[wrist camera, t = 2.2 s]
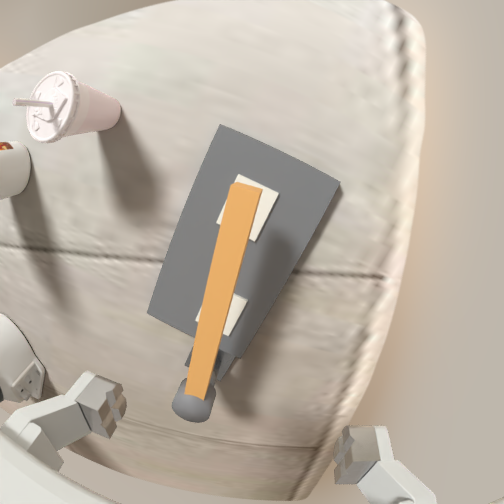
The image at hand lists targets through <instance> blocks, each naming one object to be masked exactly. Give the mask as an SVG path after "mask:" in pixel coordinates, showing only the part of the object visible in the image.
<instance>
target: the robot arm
mask: <svg viewBox="0 0 504 504" xmlns="http://www.w3.org/2000/svg"><path fill="white" fill-rule="evenodd" d="M44 375H45V369H44V367H43V366H42V364H41V363H40V362H39V360H38V359H37V358H36V356H35V355H34V353H33V351H32V349H31V347H30V345H29V344H28V342H27V340H26V339H25V337H24V336H23V334H22V333H21V332H20V330H19V329H18V328H17V327H16V325H15V324H14V323H13V322H12V321H11V320H10V319H9V318H7V317H6V316H5V315H3V314H0V402H2V401H3V400H9V401H14V402H18V403H21V402H22V401H24V400H26V401H27V400H28V399H29V398H30V396H32V397H34V398H36V399H40V398H41V394H42V387H43V381H44ZM122 392H123V387H122V384H120V383H117V382H114V381H112V380H109V379H107V378H104V377H102V376H100V375H97V374H95V373H92V372H90V371H86V372H84V373H83V374H82V375H81V377H80V378H79V379H78V380H77V381H76V382H75V384H74V385H73V386H72V387H71V388H70V390H69V391H68V392H67V393H66V394H65V396H64V395H59V396H56V397H53V398H50V399H47V400H44V401H41V402H38V403H35V404H32V405H29V406H26V407H23V408H20V409H17V410H16V411H15V412H14V413H13V414H12V415H11V416H10V418H9V419H8V420H7V421H6V422H5V423H4V425H3V426H2V427H1V428H0V504H120V503H118V502H115V501H113V500H111V499H109V498H107V497H104V496H102V495H100V494H98V493H96V492H94V491H92V490H90V489H88V488H86V487H84V486H82V485H80V484H79V483H77V482H75V481H73V480H71V479H69V478H68V477H66V476H64V475H63V474H61V473H59V472H58V471H59V469H60V468H61V466H62V465H63V463H64V462H63V459H62V458H61V457H60V455H59V454H58V452H57V451H58V450H60V449H61V448H63V447H65V446H67V445H69V444H71V443H73V442H75V441H77V440H78V439H80V438H82V437H84V436H86V435H88V434H89V433H91V431H92V432H94V433H97V434H99V435H101V436H104V437H106V438H109V439H110V438H111V436H112V434H113V433H114V431H115V429H116V428H117V425H116V421H118V420H121V419H122V418H123V416H124V414H125V411H126V407H127V402H126V398H125V397H124V396H123V394H122ZM342 434H343V436H341V437H339V438H338V440H337V441H336V444H335V447H334V461H335V462H336V463H337V464H338V465H337V467H336V468H335V470H334V474H335V484H357V487H358V488H359V489H360V491H361V492H362V493H363V495H364V496H365V497H366V499H367V500H368V502H369V503H370V504H437V501H436V496H435V494H434V493H433V492H432V491H431V490H430V489H429V488H428V487H427V486H425V485H424V484H423V483H422V482H421V481H420V480H419V479H418V478H417V477H416V476H415V475H414V474H413V473H412V472H410V471H409V470H408V469H407V468H406V467H405V466H404V465H403V464H402V463H401V462H400V461H399V460H395V459H394V455H393V450H392V446H391V442H390V437H389V433H388V429H387V427H386V426H384V425H381V426H371V425H366V426H346V427H344V429H343V431H342ZM489 504H504V497H502V498H500V499H498V500H496V501H494V502H492V503H489Z"/></svg>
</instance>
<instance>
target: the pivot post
mask: <svg viewBox="0 0 504 504" xmlns="http://www.w3.org/2000/svg"><path fill="white" fill-rule="evenodd" d="M192 351H193V348H192V350H191V352H190V354H189V357H188V359H187V361H186V363H185V366H187V367H189V366H190V361H191V356H192ZM235 357H236V356H233V355H231V354H229V353H227V352H224V351H222V350H220V349H219V350H218V353H217V357H216V361H215V364H214V368H213V372H212V376H211V379H210V384H212V386H213V387H214V384H215V381H216V380H218V381H221V379H222V378H223V376H224V375H225V373H226V371H227V370H228V368H229V366H230V365H231V363H232V362H233V360H234V358H235Z"/></svg>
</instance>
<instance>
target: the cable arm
mask: <svg viewBox="0 0 504 504" xmlns="http://www.w3.org/2000/svg"><path fill="white" fill-rule="evenodd" d="M262 190H263V189H261V188H258V187H254V186H251V185H247V184H243V183H240V182H235V183H233V184H231V185H230V189H229V193H228V197H227V201H226V205H225V209H224V213H223V217H222V221H221V225H220V229H219V233H218V237H217V242H216V246H215V250H214V254H213V259H212V263H211V267H210V272H209V276H208V280H207V285H206V289H205V294H204V298H203V303H202V308H201V312H200V317H199V322H198V327H197V331H196V336H195V341H194V346H193V351H192V356H191V361H190V366H189V371H188V377H187V378H185V379H184V380H183V381H182V382H181V384H180V387H179V389H178V391H177V393H176V395H175V398H174V400H173V402H172V409H173V411H174V412H175V413H176V414H177V415H178V416H179V417H181V418H183V419H185V420H187V421H190V422H197V423H199V422H204V421H206V420H208V418H209V416H210V413H211V410H212V406H213V403H214V400H215V397H216V390H215V388H214V387H213V386H212V384H210V379H211V376H212V372H213V368H214V364H215V361H216V357H217V353H218V350H219V346H220V342H221V339H222V335H223V331H224V328H225V324H226V320H227V317H228V313H229V309H230V306H231V302H232V298H233V295H234V291H235V287H236V284H237V280H238V277H239V273H240V269H241V266H242V262H243V258H244V255H245V251H246V248H247V244H248V240H249V237H250V233H251V230H252V226H253V223H254V219H255V215H256V212H257V208H258V205H259V201H260V197H261V194H262Z"/></svg>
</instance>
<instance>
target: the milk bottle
mask: <svg viewBox="0 0 504 504" xmlns="http://www.w3.org/2000/svg"><path fill="white" fill-rule="evenodd" d="M30 169H31V164H30V156H29V153H28V150H27V148H26V147H25V145H23V144H22V143H21V142H18V141H11V142H0V200H1V199H4V198H8V197H11V196H14V195H17V194H20V193H21V192H22V191H23V190H24V189H25V187H26V186H27V183H28V181H29V177H30Z"/></svg>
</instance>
